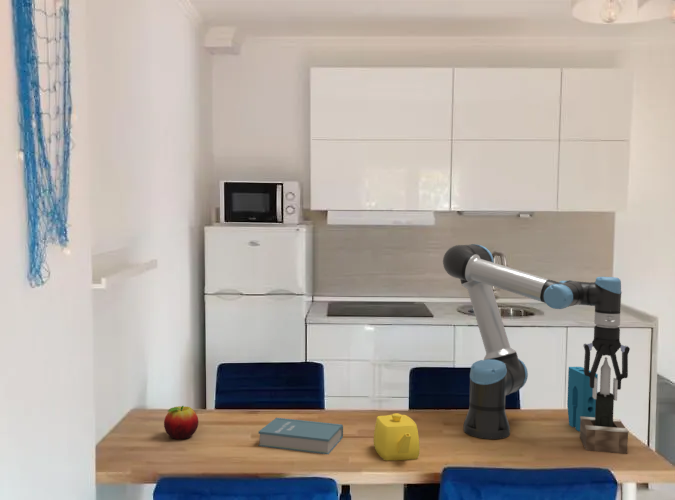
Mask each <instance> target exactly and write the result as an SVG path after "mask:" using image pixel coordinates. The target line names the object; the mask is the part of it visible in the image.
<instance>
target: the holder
mask: <svg viewBox="0 0 675 500" xmlns="http://www.w3.org/2000/svg"><path fill="white" fill-rule="evenodd" d="M580 418H581V419H580V432H579V439H580V441H581V443H582V445H583V446H584V449H585V451H593V452H604V453H616V454H617V453H618V454H628V445H629V444H628V443H629V430H628V428H626V426H625V425H624V424H623V423H622V420H621V419H618V418H613V427H603V426H595V417H582V416H580Z"/></svg>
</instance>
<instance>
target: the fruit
mask: <svg viewBox="0 0 675 500" xmlns="http://www.w3.org/2000/svg"><path fill="white" fill-rule="evenodd" d="M163 427H164V430H165V433H166V434H167V435H168V436H169V437H170V438H171V439H175V440H184V439H189V438H191V437H192V436H193V435H194V434H196V431H197V429H198V427H199V417H198V415H197V413H196V412H195V410H194V409H193V408H192V407H190V406H184V405H181V406H174V407H170V408H169V409H168V410H167V414H166V415H165V417H164V421H163Z"/></svg>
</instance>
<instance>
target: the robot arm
mask: <svg viewBox="0 0 675 500" xmlns="http://www.w3.org/2000/svg"><path fill="white" fill-rule="evenodd" d="M442 265H443V269H444V270H445V272H446V273H447V274H448V275H449V276H451V277H452V278H455V279H459V281H460V283H461V286H462V287H464V288H466V289H467V293H468V295H469V301H470V302H471V306H472V309H473V313H474V315H475V316H474V317H475V320H476V323H477V326H478V329H479V333H480V335H481V341H482V343H483V347H484V350H485V356H484V358H483V359H480V360H476V361H475V362H472V364H471V366H470V372H469V407H468V410H467V414H466V416H465V419H464V422H463V432H464V433H465V434H466V435H469V436H472V437H474V438H480V439H486V440H498V439H505V438H508V437H510V435H511V427H510V423H509V420H508V419H509V418H508V416H507V413H506V396H509V395H510V394H513V393H517V392H518V391H520V390H521V389H522V388H523V387H524V386H525V384H526V383H527V380H528V376H529V373H528V368H527V366H526V364H525V362H523V361H522V360H521V359H520V358H519V357H518V354H517V350H515V349H513V348H511V346H510V343H509V339H508V336H507V332H506V329H505V326H504V322H503V319H502V315H501V312H500V309H499V306H498V301H497V299H496V295H495V293H494V290H493V287H494V288H496V289H501V290H503V291H507V292H510V293H513V294H516V295H520V296H522V297H525V298H528V299H533V300H534V301H538V302H541V303H544V304H546V305H547V306H548V307H549V308H551V309H554V310H562V309H566V308H568V307H573V306H577V305H578V306H580V305H581V306H589V307H594V321H593V322H594V326H593V340H592V342H590V343H583V346H582V347H583V348H584V364H583V368H584V374H585V375H586V376H589V377H590V384H589V385H590V387H591V388H593V398H594V399H596V397H597V392H598V382H597V378H596V377H595V375H596V374H597V371H598V368H599V365H600V362H601V360H602V358H603V357H604V356H605V357H606V356H608V357H610V360H611V363H612V367H613V371H614V374H615V377H613V379H612V394H613V397H614V402H615V401H618V391H619V390H621V389H622V380H623V379H627V378H629V375H628V374H629V367H628V365H629V352H630V350H631V347H629V346H628V345H623V344H621V340H620V337H621V336H620V335H621V328H620V327H619V326H620V325H621V306H622V305H621V303H622V293H623V291H622V281H621V279H620V278H618V277H614V276H597V277H596V278H595V281H594V282H589V281H588V282H587V281H576V280H559V281H556V280H551V279H549V278H546V277H543V276H539V275H536V274H532V273H529V272H526V271H523V270H520V269H516V268H513V267H509V266H505V265H502V264H499V263H495V261H494V257H493V254H492V252H491V251H490V250H489V249H488V248H487V247H485V246H484V245H481V244H475V243H474V244H473V243H472V244H457V245H453V246H451V247H449V248H448V249H447V250H446V252H445V253H444V255H443V258H442ZM592 348H594V350H595V351H596V353H595V357H594V360H593V363H592V365H591V369H590V363H591V362H590V361H591V351H592V350H593V349H592ZM619 349H620V351H621V369H620V367H619V363H618V358H617V354H616V353H617V352H618V351H619ZM589 370H590V372H589Z"/></svg>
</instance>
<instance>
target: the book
mask: <svg viewBox="0 0 675 500" xmlns="http://www.w3.org/2000/svg"><path fill="white" fill-rule="evenodd" d="M257 434H259V444H258V447H262V448H263V447H264V448H272V449H282V450H289V451H295V452H296V451H297V452H304V453H305V452H306V453H313V454H322V455H330V453H331V452H332V451H333V450H334V448H335V447H336V446H337V445H338V444H339V443H340V442H341V440H343V437H344V426H343V424H341V423H329V422H321V421H311V420H303V419H295V418H294V419H292V418H285V417H284V418H283V417H275V418H274V419H273V420H272V421H270V422H269V423H267V424H266V425H265V426H264V427H262V428H261V429H260V430H258V433H257Z"/></svg>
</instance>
